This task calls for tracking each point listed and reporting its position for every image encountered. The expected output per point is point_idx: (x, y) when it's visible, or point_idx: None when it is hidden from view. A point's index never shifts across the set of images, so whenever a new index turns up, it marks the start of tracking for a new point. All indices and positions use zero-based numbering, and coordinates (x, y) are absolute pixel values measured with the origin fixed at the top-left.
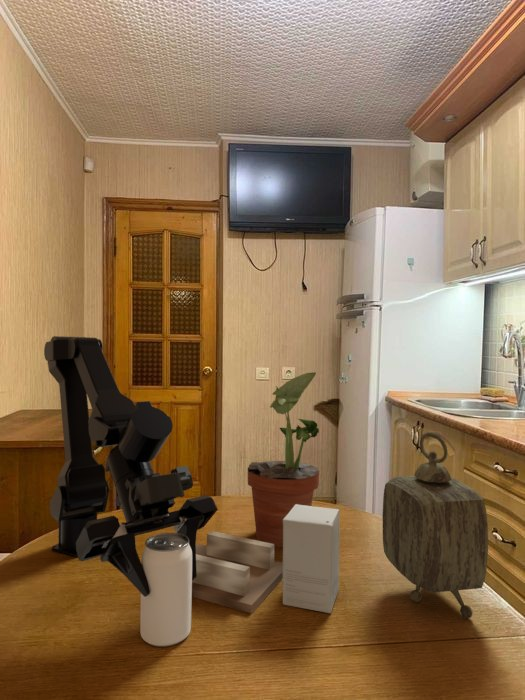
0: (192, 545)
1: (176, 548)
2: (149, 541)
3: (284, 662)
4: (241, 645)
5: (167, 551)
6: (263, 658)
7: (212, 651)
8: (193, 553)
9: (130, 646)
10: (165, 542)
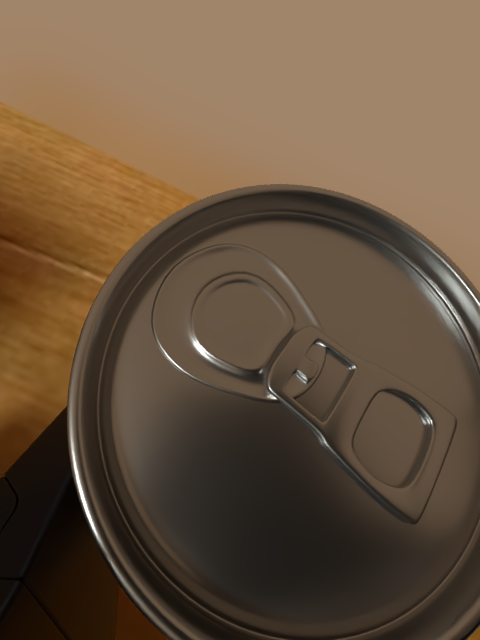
0: (11, 496)
1: (261, 242)
2: (476, 529)
3: (7, 193)
4: (59, 283)
5: (345, 207)
6: (41, 224)
7: None
8: (47, 447)
9: None
10: (333, 408)
